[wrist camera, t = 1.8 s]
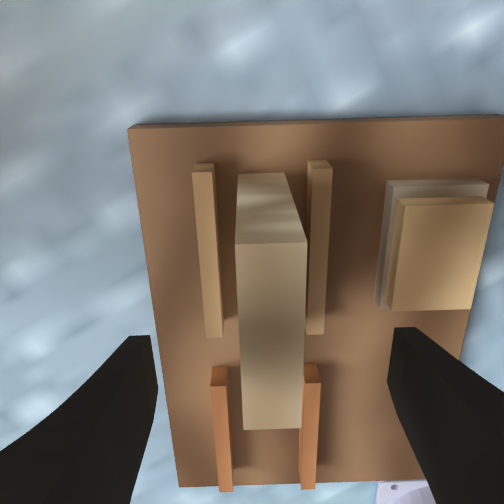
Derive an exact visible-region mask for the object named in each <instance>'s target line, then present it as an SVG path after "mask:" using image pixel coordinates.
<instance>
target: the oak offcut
mask: <svg viewBox="0 0 504 504" xmlns="http://www.w3.org/2000/svg"><path fill="white" fill-rule="evenodd" d="M493 208H494V203H493V202H491V201H489V200H488V199H486V198H485V197H483V196H463V197H430V198H397V204H396V212H395V220H394V228H393V236H392V244H391V252H390V260H389V268H388V276H387V285H386V293H385V301H386V303H387V305H388V307H389V309H390V310H391V311H424V310H456V309H471V306H472V301H473V297H474V292H475V288H476V283H477V279H478V275H479V270H480V266H481V261H482V257H483V252H484V248H485V244H486V239H487V235H488V230H489V226H490V221H491V217H492V213H493Z"/></svg>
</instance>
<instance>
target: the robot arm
mask: <svg viewBox="0 0 504 504" xmlns="http://www.w3.org/2000/svg"><path fill="white" fill-rule="evenodd" d="M387 384H388V388H389V391H390V395H391V398H392V401H393V404H394V408H395V411H396V414H397V416H398V418H399V421H400V423H401V425H402V427H403V430H404V432H405V434H406V436H407V439H408V441H409V443H410V445H411V448H412V450H413V452H414V454H415V456H416V459H417V461H418V463H419V465H420V467H421V470H422V472H423V474H424V476H425V478H426V479H417V480H387V481H379V482H378V488H377V494H376V501H375V504H504V392H503V391H501V390H500V389H498V388H497V387H495V386H494V385H492V384H491V383H489V382H488V381H486V380H485V379H484V378H482V377H481V376H479V375H478V374H477V373H475V372H474V371H472V370H471V369H470V368H468V367H467V366H466V365H464V364H463V363H462V362H460V361H459V360H458V359H456V358H455V357H454V356H452V355H451V354H450V353H449V352H447V351H446V350H445V349H443V348H442V347H441V346H440V345H438V344H437V343H436V342H435V341H433V340H432V339H431V338H429V337H428V336H427V335H426V334H424V333H423V332H422V331H420V330H419V329H417V328H416V327H394V333H393V341H392V348H391V355H390V362H389V369H388V376H387ZM157 394H158V384H157V377H156V371H155V364H154V358H153V351H152V345H151V338H150V335H140V336H129V337H128V338H127V339H126V340H125V341H124V342H123V343H122V344H121V345H120V346H119V347H118V348H117V349H116V350H115V351H114V353H113V354H112V355H111V356H110V357H109V358H108V359H107V360H106V361H105V362H104V363H103V364H102V365H101V366H100V368H99V369H98V370H97V371H96V372H95V373H94V374H93V375H92V376H91V377H90V378H89V379H88V380H87V381H86V382H85V383H84V384H83V385H82V386H81V387H80V388H79V389H78V390H77V391H75V392H74V393H73V394H72V395H71V396H70V397H69V398H68V399H67V400H66V401H65V402H64V403H63V404H62V405H60V406H59V407H58V408H57V409H56V410H55V411H53V412H52V413H51V414H50V415H49V416H47V417H46V418H45V419H44V420H42V421H41V422H40V423H39V424H37V425H36V426H35V427H33V428H32V429H31V430H30V431H28V432H27V433H26V434H24V435H23V436H21V437H20V438H19V439H17V440H16V441H14V442H13V443H11V444H10V445H8V446H7V447H6V448H4V449H3V450H1V451H0V504H130V501H131V496H132V493H133V489H134V486H135V483H136V479H137V476H138V472H139V469H140V465H141V462H142V459H143V455H144V452H145V448H146V445H147V441H148V438H149V434H150V431H151V427H152V424H153V419H154V413H155V407H156V401H157Z"/></svg>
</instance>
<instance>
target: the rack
mask: <svg viewBox="0 0 504 504" xmlns="http://www.w3.org/2000/svg"><path fill="white" fill-rule="evenodd" d="M127 131H128V138H129V145H130V152H131V159H132V166H133V173H134V180H135V187H136V193H137V200H138V207H139V214H140V221H141V228H142V235H143V242H144V249H145V256H146V262H147V269H148V276H149V283H150V290H151V297H152V304H153V311H154V318H155V325H156V331H157V338H158V345H159V352H160V359H161V366H162V373H163V380H164V387H165V394H166V401H167V407H168V414H169V421H170V428H171V435H172V442H173V449H174V456H175V463H176V470H177V476H178V483H179V487H205V486H219V492H233V486H235V485H265V484H296V483H301V489H315V483H326V482H356V481H387V480H417V479H426V478H425V476H424V474H423V472H422V470H421V467H420V465H419V463H418V461H417V459H416V456H415V454H414V452H413V450H412V448H411V445H410V443H409V441H408V439H407V436H406V434H405V432H404V430H403V427H402V425H401V423H400V421H399V418H398V416H397V414H396V411H395V408H394V404H393V401H392V398H391V395H390V391H389V388H388V384H387V376H388V369H389V362H390V355H391V348H392V341H393V333H394V327H416V328H417V329H419V330H420V331H422V332H423V333H424V334H426V335H427V336H428V337H429V338H431V339H432V340H433V341H435V342H436V343H437V344H438V345H440V346H441V347H442V348H443V349H445V350H446V351H447V352H449V353H450V354H451V355H452V356H454V357H455V358H456V359H458V360H459V358H460V353H461V349H462V344H463V340H464V335H465V331H466V327H467V322H468V318H469V313H470V309H456V310H424V311H391V310H390V309H379V307H378V306H377V304H376V302H375V300H374V290H375V281H376V272H377V263H378V254H379V245H380V236H381V227H382V218H383V209H384V199H385V190H386V181H389V180H423V179H457V178H479V179H480V180H482V181H484V182H486V183H488V184H489V188H488V192H487V197H486V199H488V200H489V201H491V202H493V203H494V202H495V198H496V193H497V189H498V185H499V180H500V176H501V171H502V167H503V162H504V116H503V115H499V114H492V115H457V116H422V117H387V118H352V119H317V120H282V121H247V122H212V123H178V124H143V125H133V126H131V127H130V128H128V129H127ZM279 172H284V173H285V176H286V179H287V182H288V185H289V188H290V191H291V194H292V197H293V200H294V203H295V206H296V209H297V212H298V215H299V218H300V221H301V224H302V227H303V230H304V233H305V236H306V239H307V272H306V303H305V333H304V364H303V395H302V426H301V428H289V429H258V430H243V410H242V389H241V367H240V345H239V324H238V302H237V280H236V259H235V230H236V208H237V186H238V174H245V173H279Z"/></svg>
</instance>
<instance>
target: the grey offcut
mask: <svg viewBox="0 0 504 504" xmlns="http://www.w3.org/2000/svg"><path fill="white" fill-rule="evenodd" d="M488 188H489V184H488V183H486V182H484V181H482V180H480V179H479V178H457V179H423V180H389V181H386V190H385V199H384V209H383V218H382V227H381V236H380V245H379V254H378V263H377V272H376V281H375V290H374V300H375V302H376V304H377V306H378V307H379V309H389V307H388V305H387V303H386V301H385V293H386V285H387V276H388V268H389V260H390V252H391V244H392V236H393V228H394V220H395V212H396V204H397V198H430V197H463V196H483V197H485V198H486V197H487V192H488Z"/></svg>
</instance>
